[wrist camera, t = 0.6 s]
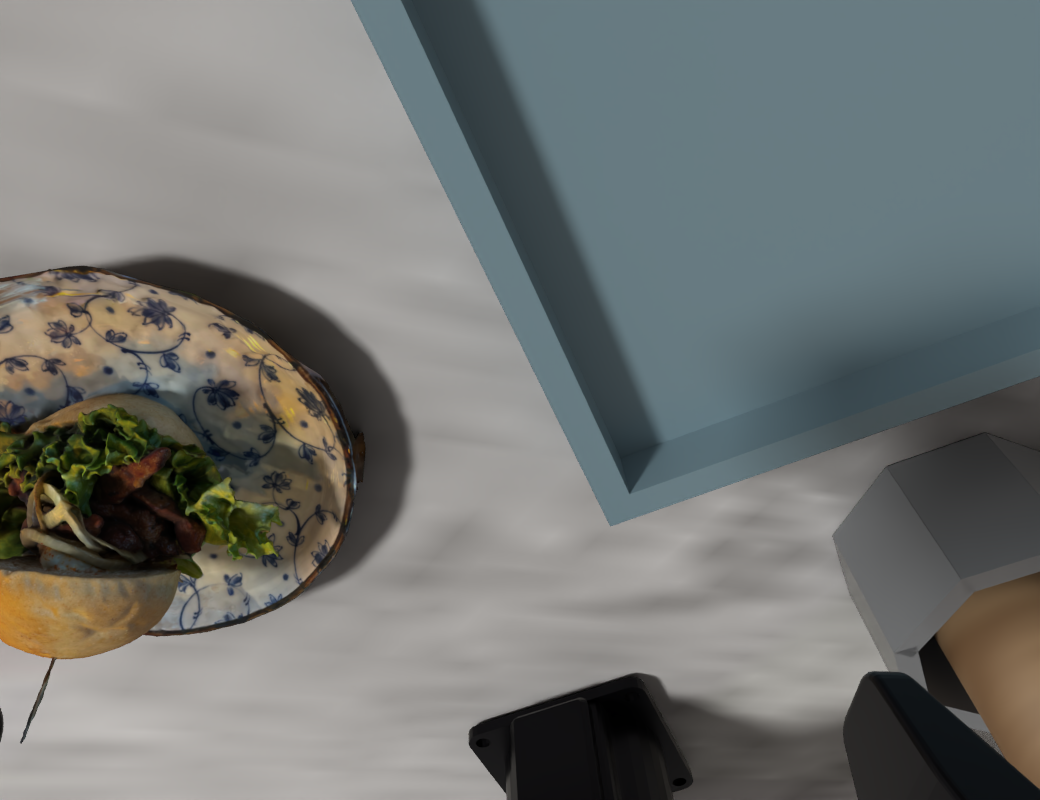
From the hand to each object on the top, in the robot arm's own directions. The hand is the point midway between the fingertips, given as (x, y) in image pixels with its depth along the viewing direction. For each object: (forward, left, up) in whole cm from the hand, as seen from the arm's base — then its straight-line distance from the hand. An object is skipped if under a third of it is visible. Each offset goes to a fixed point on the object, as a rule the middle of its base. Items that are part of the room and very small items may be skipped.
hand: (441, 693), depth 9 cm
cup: (-15, -10, -13) cm, 22 cm away
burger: (-2, +10, -14) cm, 17 cm away
